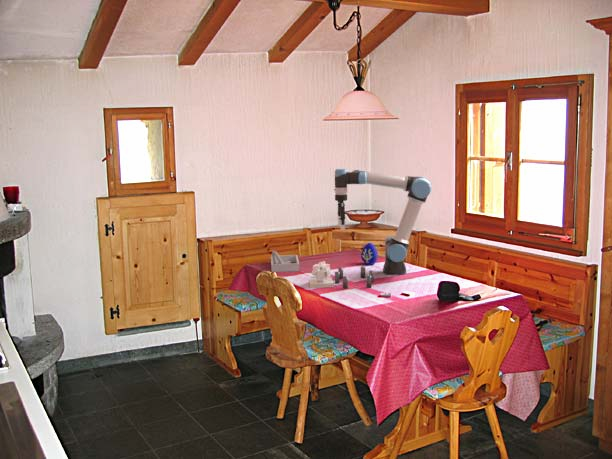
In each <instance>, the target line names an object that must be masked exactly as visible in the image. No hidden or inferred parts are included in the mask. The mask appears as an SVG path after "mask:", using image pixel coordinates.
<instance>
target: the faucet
mask: <svg viewBox="0 0 612 459" xmlns="http://www.w3.org/2000/svg"><path fill="white" fill-rule="evenodd" d="M279 255H280V254H279V253H278V252H277V251H276V250H272V251H271V256H272V257H273V260H274V263H273V264H292V262H290V261H288V260H287V262H285V263H284V262H283V261H282V260H281V258H280V256H279ZM276 258H277V259H278V261H279V263H278V262H277V259H276Z"/></svg>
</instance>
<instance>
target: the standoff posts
mask: <svg viewBox="0 0 612 459" xmlns="http://www.w3.org/2000/svg"><path fill="white" fill-rule="evenodd" d="M337 268H338V270H337V271H334V285H339V284H340V283H341V280H342V289H344V290H347V289H349V281H348V280H349V278H348V275H346V276H345V275H344V267H342V266H338V267H337ZM360 279H366V280H365V281H366V283H365V284H366V286H365V287H366V289H372V283H375V271H374V270H369V271H368V275H366V266H364V265H362V266H360Z"/></svg>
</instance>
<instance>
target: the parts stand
mask: <svg viewBox="0 0 612 459" xmlns="http://www.w3.org/2000/svg"><path fill="white" fill-rule="evenodd" d="M308 284H309V289H321V288H322V289H323V288H334V287H335V286H334V285H335V281H334V280H333V278H332V277H329V279H326V281H325V279H324V280H323V281H322V280H321V279H318V282H317V280H316V278H315V277H313V278H311V277H310V278H308Z"/></svg>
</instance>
